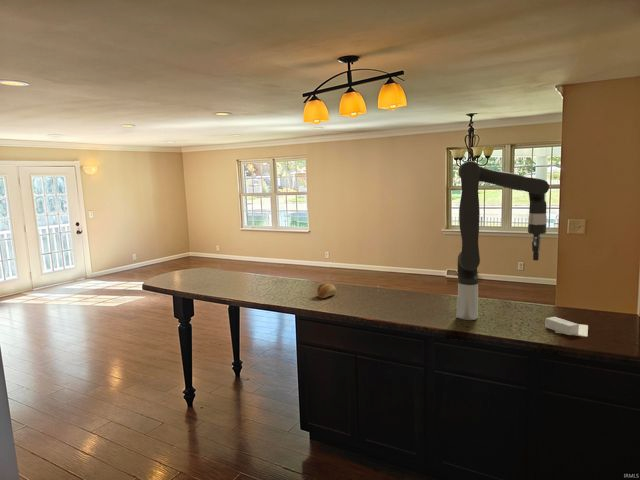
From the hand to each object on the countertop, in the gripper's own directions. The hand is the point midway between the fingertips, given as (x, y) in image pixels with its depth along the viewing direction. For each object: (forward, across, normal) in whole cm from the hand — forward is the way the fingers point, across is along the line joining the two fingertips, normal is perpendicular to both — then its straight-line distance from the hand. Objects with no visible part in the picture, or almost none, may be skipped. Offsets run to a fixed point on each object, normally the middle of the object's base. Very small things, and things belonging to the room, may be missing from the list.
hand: (535, 260), depth 200 cm
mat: (+29, +6, +16) cm, 34 cm away
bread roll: (+30, +7, -111) cm, 115 cm away
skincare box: (+26, +7, +7) cm, 28 cm away
